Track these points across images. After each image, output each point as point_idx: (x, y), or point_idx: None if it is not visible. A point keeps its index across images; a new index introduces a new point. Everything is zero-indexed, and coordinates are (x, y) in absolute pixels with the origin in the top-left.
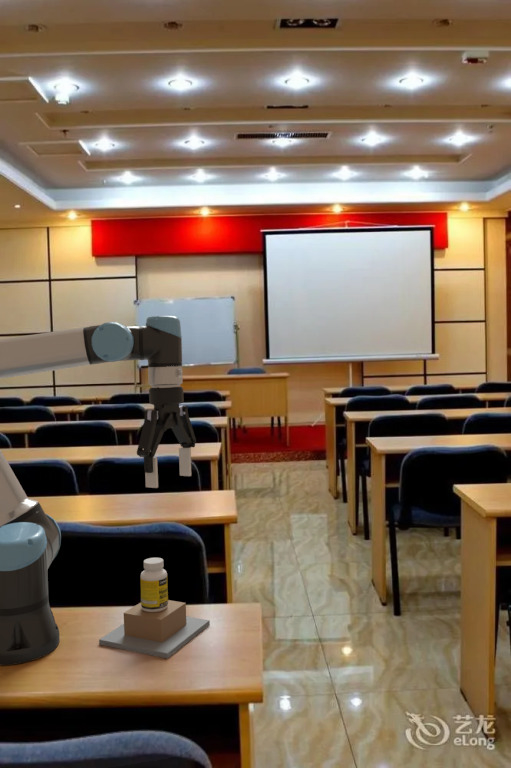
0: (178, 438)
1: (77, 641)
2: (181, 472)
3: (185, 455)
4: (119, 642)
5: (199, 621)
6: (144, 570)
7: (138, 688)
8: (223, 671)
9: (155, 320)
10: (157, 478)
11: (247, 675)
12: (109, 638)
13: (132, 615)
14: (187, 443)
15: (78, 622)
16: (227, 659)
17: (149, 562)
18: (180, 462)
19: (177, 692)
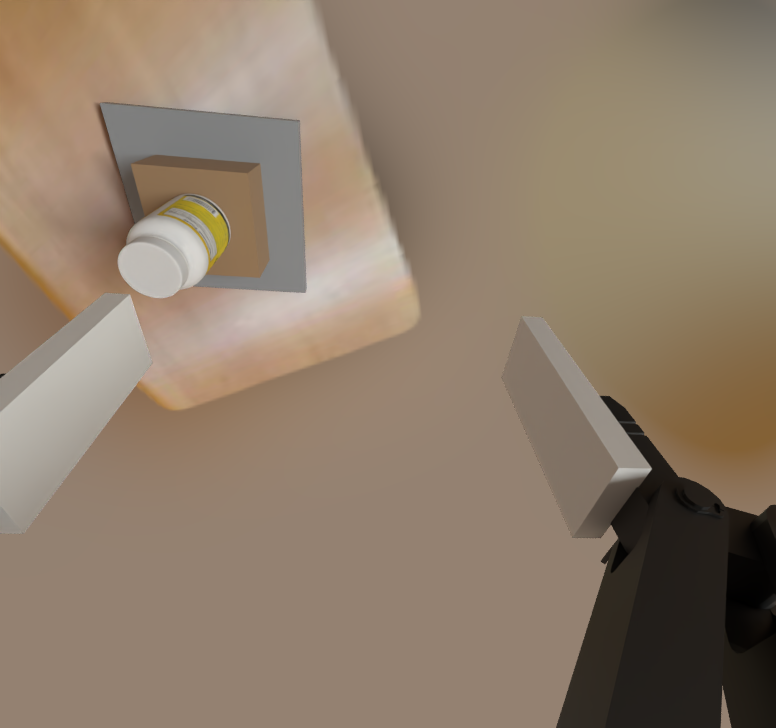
0: (623, 600)
1: (77, 22)
2: (523, 340)
3: (558, 459)
4: (122, 166)
5: (292, 277)
6: (146, 233)
7: (53, 284)
8: (179, 368)
9: None
10: (120, 398)
11: (189, 396)
12: (119, 128)
13: (139, 192)
14: (606, 574)
15: None
16: (212, 360)
17: (128, 269)
18: (552, 379)
19: None
